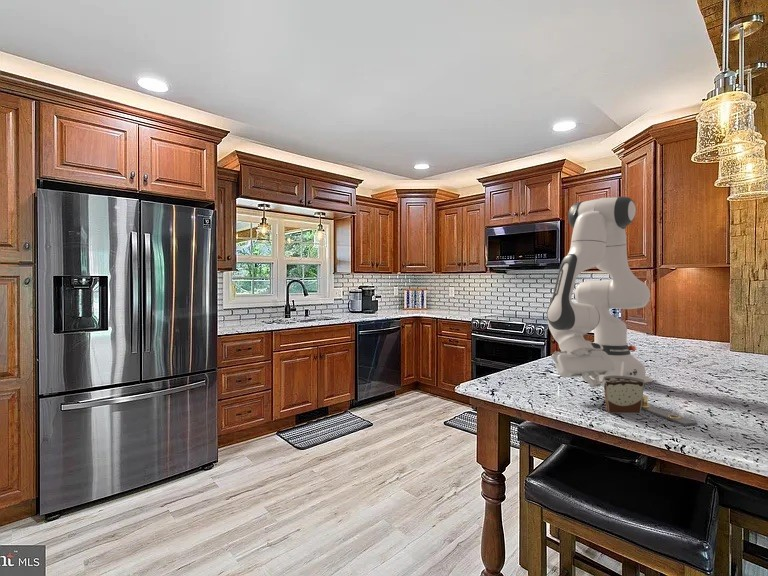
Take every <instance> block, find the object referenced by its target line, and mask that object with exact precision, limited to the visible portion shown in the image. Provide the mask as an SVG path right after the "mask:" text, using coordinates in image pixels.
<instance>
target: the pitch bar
mask: <svg viewBox="0 0 768 576" xmlns="http://www.w3.org/2000/svg"><path fill="white" fill-rule="evenodd" d="M648 397H649V396H647V395H644V394H643V398H642V407H641V409H642V410H641V411H645V412H646V411H647V412H646V413H649V412H650V413H649V414H652V415H654V414H655V416H657V417H660V418H662V417H663V418H662V419H666V420H667V421H670V420H671V422H673V423H675V424H678V423H679V425H680V426H684V427H686V426H696V425H695V424H697V425H698V422H697V421H695V420H692V419H689V418H686V417H684V416H681V415H678V414H675V413H673V412H671V411H667V410H664V409H661V408H658V407H655V406H653V405H650V404H648V400H649V399H648Z"/></svg>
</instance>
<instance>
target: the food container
mask: <svg viewBox="0 0 768 576" xmlns="http://www.w3.org/2000/svg"><path fill="white" fill-rule="evenodd" d="M601 386H602V387H603V389H604V391H603V392H604V400H605V410H606V413H607V412H608V413H607V414H609V413H641V414H642V410H641V407H642V398H643V395H644V388H646V387H647V385H646V383H645V382H644V380H642V379H639V378H634V377H628V376H605V377H604V378H603V380H602V382H601Z"/></svg>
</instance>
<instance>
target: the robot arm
mask: <svg viewBox="0 0 768 576" xmlns="http://www.w3.org/2000/svg"><path fill="white" fill-rule="evenodd" d="M635 215H636V205H635V202H634V200H633V199H632V198H630V197H629V196H618V197H600V198H595V199H590V200H586V201H582V200H580V201H579V202H575V203H573V204H572V205H571V207H570V208H569V210H568V216H567V219H568V223H569V225H570V226H571V228H573V229H572V234H571V241H570V248H569V250H568V252H567V255H565V256H564V257H563V258H562V260H561V263H560V265H559V270H558V273H557V277H556V281H555V285H554V290H553V293H552V297H551V300H550V303H549V304H548V307H547V311H546V319H547V326H548V329H549V331H550V333H551V335H552V336H553V339H554V341H556V342H557V343H558V348H559V349H560V351H554V352H553V353H552V355H551V358H552V359H553V361H554V365H555V368H556V370H557V373H558V375H559V376H560V377H561V378H576V377H579V378H580V377H581V378H582V379H583V380H584V381H585V382H586V383H588V385H589V386H590V388H599V387H600V386H602V385H601V384H602V380H603V378H604V377H605V376H628V377H634V378H639V379H642V380H644V382H645V384H646V383H652V382H653V381H654V378H652V377H650V376H647V375H646V368H645V365H644V364H643V363H642V362H641V361H640V360H638V359H637V358H636V357H635V356H633V355H632V354H631V352H636V350H637V347H636V345H632V344H631V345H628V344H627V343H628V337H627V335H628V329H627V328H628V327H627V325H626V323H625V322H624V321H623V319H622V320H621V319H619V318H618V317H616V316H614V315H612V314H611V312H610V309H617V310H618V309H619V310H620V309H621V310H634V309H635V310H636V309H641V308H644V307H646V306H647V304H648V303H649V302H650V299H651V290H650V289H649V286H648V285H647V284H646V283H645V282H643V281H641V280H640V279H639V278H638V277H636V275H635V274H634V273H633V271H632V270H631V269H630V268H631V267H630V265H629V262H628V253H627V252H628V251H627V249H628V248H627V233H626V228H627V227H628V226H629V225H631V223H632V222H633V221H634V220H635V218H636V217H635ZM595 267H596V268H597V269H598V270H600V271H601V272H604V273H606V274H608V275H609V276H610V277H611V280H607V279H606V280H587V281H582V282H580V283H578V285H577V286H576V288H575V284H576V279H577V277H578V276H579V274H580V273H582V272H584V271H586V270H587V271H588V270H590V269H593V268H595ZM574 288H575V290H574ZM573 292H574V298H575V301H576V302H574V301H572V295H573ZM592 331H593V334H594V335H593V336H594V337H593V338H594V341H590V340H586V339H585V338H584V336H585V335H586V334H589V333H590V332H592Z"/></svg>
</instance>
